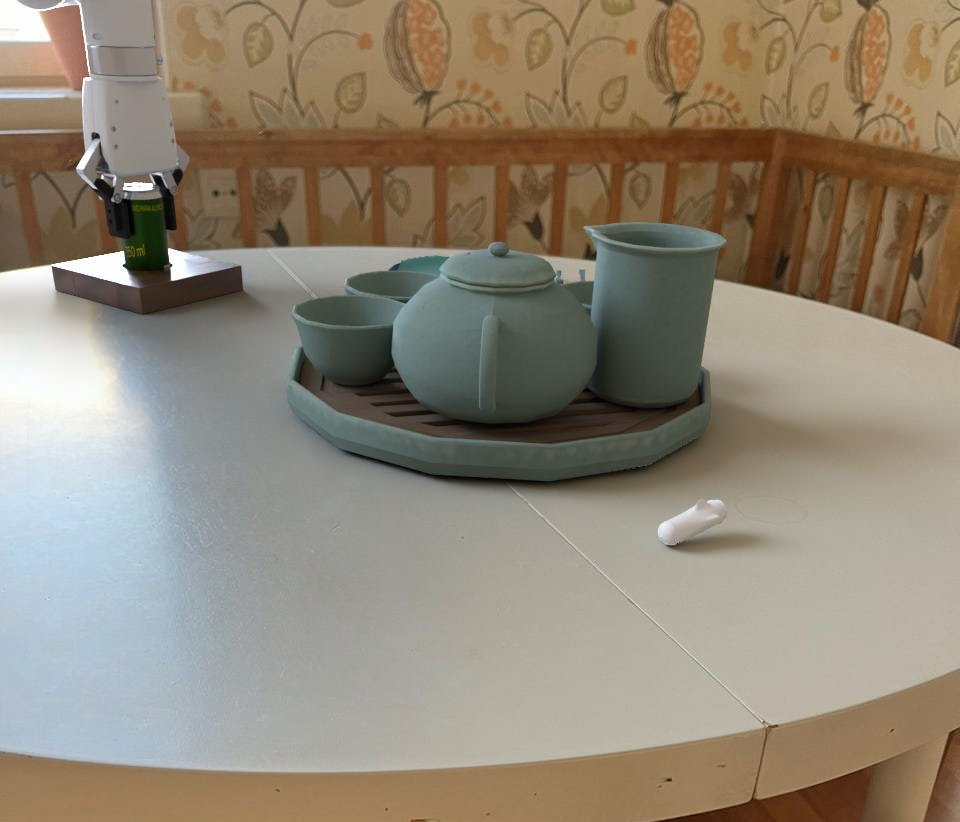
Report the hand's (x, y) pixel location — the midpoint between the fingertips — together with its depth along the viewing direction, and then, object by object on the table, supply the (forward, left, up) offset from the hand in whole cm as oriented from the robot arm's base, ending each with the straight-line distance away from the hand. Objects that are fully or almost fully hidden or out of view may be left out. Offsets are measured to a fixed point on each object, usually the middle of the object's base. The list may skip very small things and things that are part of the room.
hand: (143, 231), depth 127 cm
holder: (0, 0, -7) cm, 7 cm away
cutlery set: (+32, +31, -7) cm, 45 cm away
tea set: (+56, -6, -7) cm, 57 cm away
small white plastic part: (+83, -21, -7) cm, 86 cm away
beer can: (0, 0, -7) cm, 7 cm away
